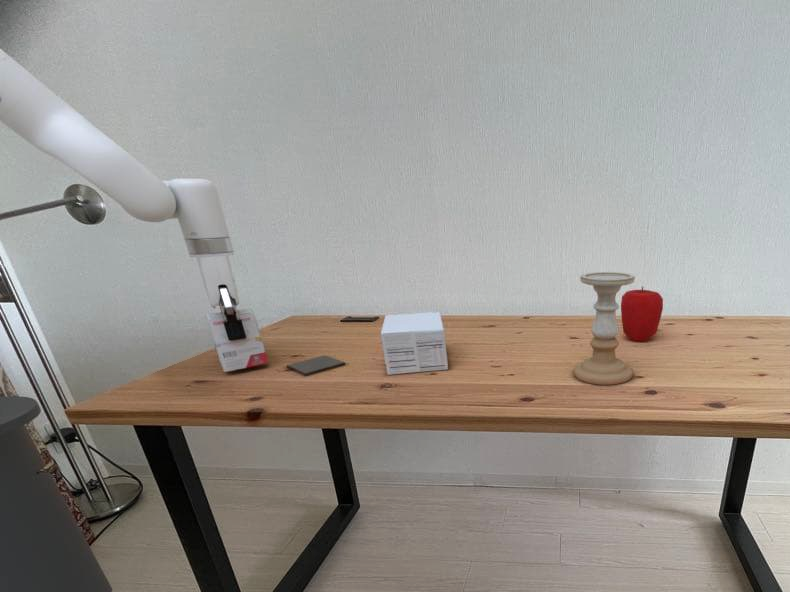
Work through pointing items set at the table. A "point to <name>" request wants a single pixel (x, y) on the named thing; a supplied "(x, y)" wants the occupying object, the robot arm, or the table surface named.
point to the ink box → (237, 342)
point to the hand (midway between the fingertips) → (236, 335)
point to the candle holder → (605, 332)
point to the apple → (641, 314)
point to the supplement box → (414, 343)
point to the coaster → (315, 365)
